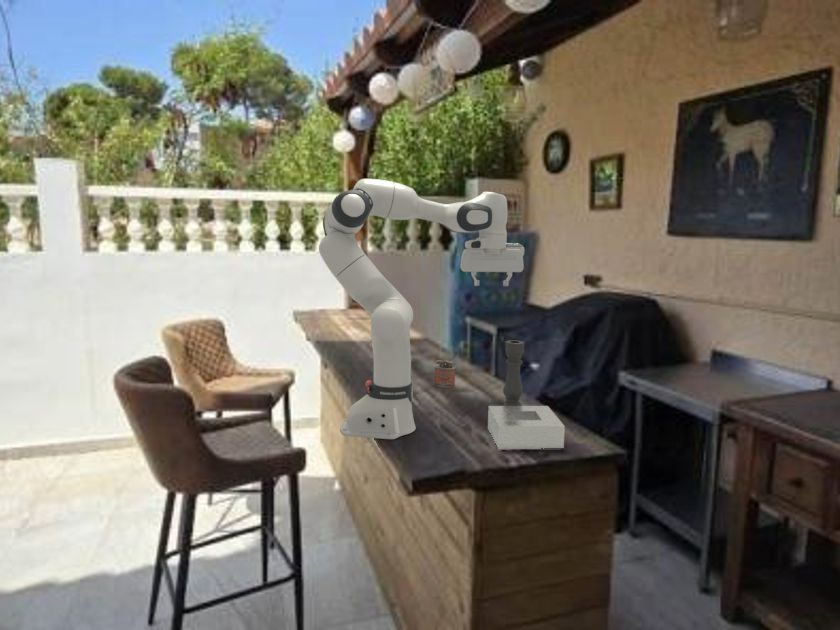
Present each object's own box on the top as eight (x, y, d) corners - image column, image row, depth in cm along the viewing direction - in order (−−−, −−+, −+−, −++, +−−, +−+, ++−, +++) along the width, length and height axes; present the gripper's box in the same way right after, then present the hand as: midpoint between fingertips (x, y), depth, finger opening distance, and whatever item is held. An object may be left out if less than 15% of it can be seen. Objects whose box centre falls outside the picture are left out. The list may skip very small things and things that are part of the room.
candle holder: (497, 419, 190) (500, 341, 186) (510, 415, 194) (513, 339, 190) (513, 424, 185) (516, 344, 181) (525, 419, 189) (529, 342, 185)
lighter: (455, 386, 226) (456, 360, 225) (454, 388, 223) (454, 362, 222) (435, 384, 229) (435, 358, 227) (433, 386, 225) (433, 360, 224)
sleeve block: (498, 450, 163) (499, 426, 162) (487, 428, 181) (488, 405, 180) (563, 450, 164) (564, 426, 163) (546, 428, 182) (547, 405, 181)
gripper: (522, 243, 196) (520, 285, 198) (460, 242, 195) (459, 284, 197) (526, 243, 190) (525, 287, 192) (462, 243, 189) (461, 286, 191)
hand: (491, 285), depth 194 cm, fingers open, 8 cm apart
